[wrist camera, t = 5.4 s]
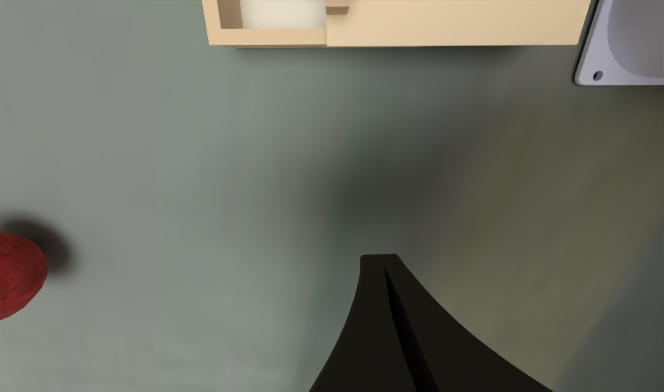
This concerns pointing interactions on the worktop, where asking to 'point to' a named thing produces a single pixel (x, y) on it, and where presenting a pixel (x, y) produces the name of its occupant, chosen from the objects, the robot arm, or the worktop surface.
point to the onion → (19, 273)
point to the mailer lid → (454, 22)
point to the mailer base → (267, 23)
